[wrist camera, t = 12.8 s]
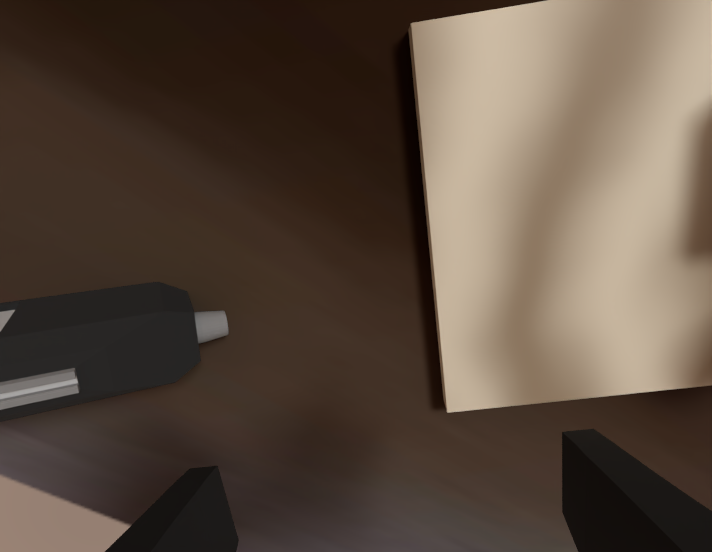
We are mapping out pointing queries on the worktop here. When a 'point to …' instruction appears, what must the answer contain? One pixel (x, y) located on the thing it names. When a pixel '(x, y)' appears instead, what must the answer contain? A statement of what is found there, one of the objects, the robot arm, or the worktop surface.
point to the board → (568, 198)
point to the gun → (97, 345)
